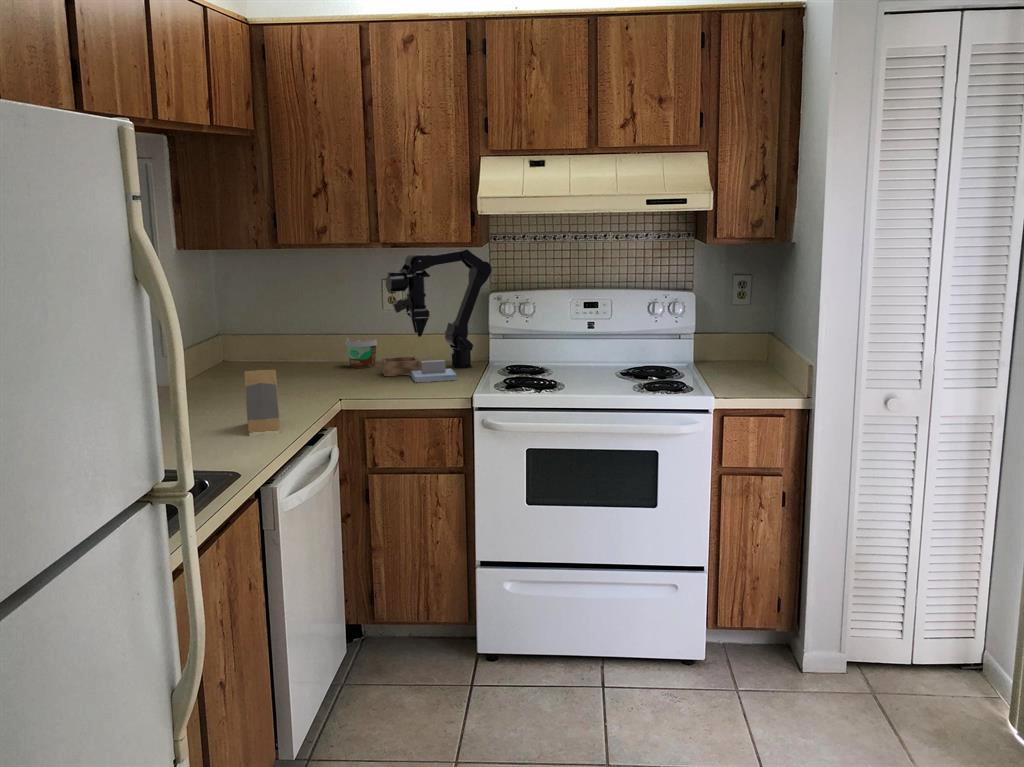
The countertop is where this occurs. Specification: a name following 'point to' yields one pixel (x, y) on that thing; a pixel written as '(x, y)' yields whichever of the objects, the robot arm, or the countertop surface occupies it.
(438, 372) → the lid
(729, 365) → the countertop surface
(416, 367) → the box
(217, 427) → the countertop surface
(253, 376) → the sandwich container
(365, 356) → the food container
